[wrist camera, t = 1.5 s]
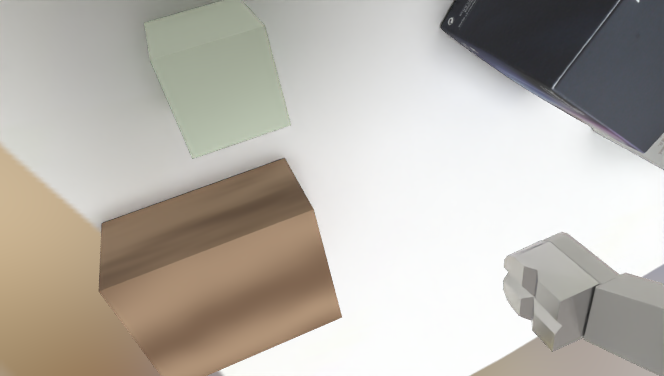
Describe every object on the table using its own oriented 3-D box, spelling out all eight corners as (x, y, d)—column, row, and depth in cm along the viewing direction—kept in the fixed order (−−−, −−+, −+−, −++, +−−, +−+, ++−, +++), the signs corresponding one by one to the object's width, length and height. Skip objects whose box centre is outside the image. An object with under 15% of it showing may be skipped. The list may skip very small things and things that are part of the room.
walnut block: (101, 223, 29) (98, 291, 25) (284, 158, 31) (313, 209, 27) (164, 321, 35) (171, 390, 31) (314, 261, 37) (342, 317, 33)
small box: (432, 32, 30) (547, 94, 22) (494, -68, 28) (646, -40, 20) (527, 94, 36) (646, 161, 28) (584, 14, 34) (731, 62, 26)
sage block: (143, 22, 24) (149, 60, 20) (237, -5, 25) (264, 25, 20) (179, 108, 27) (192, 158, 23) (262, 81, 28) (291, 125, 23)
